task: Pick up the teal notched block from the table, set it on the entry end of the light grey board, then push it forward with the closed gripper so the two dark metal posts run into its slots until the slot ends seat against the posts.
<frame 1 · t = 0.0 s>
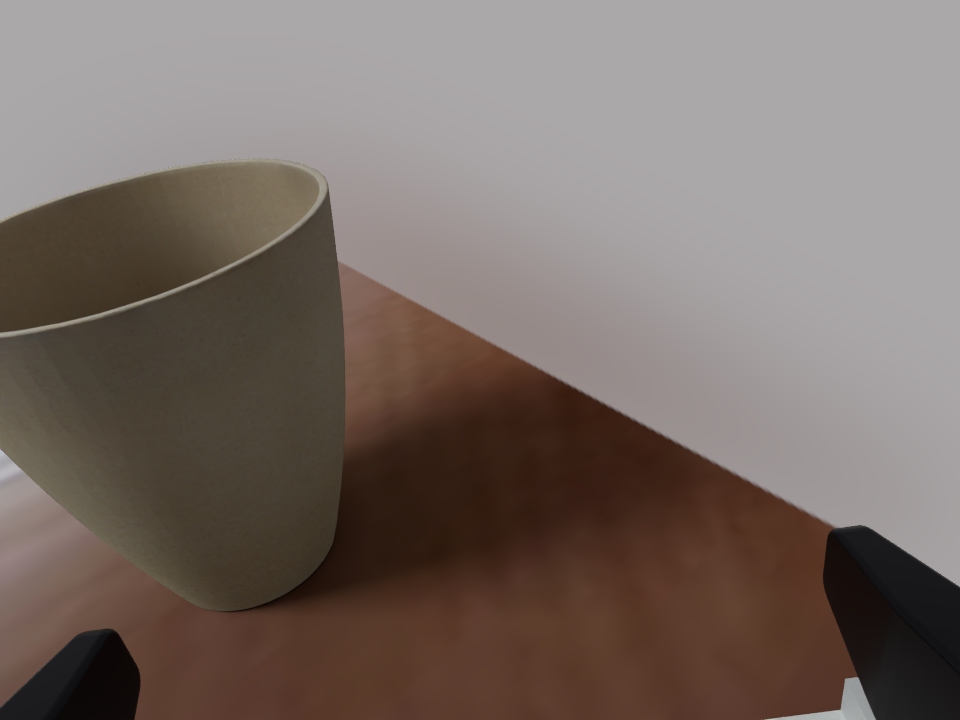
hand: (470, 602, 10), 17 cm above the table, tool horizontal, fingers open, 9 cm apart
plant pot: (254, 554, 36), on the table
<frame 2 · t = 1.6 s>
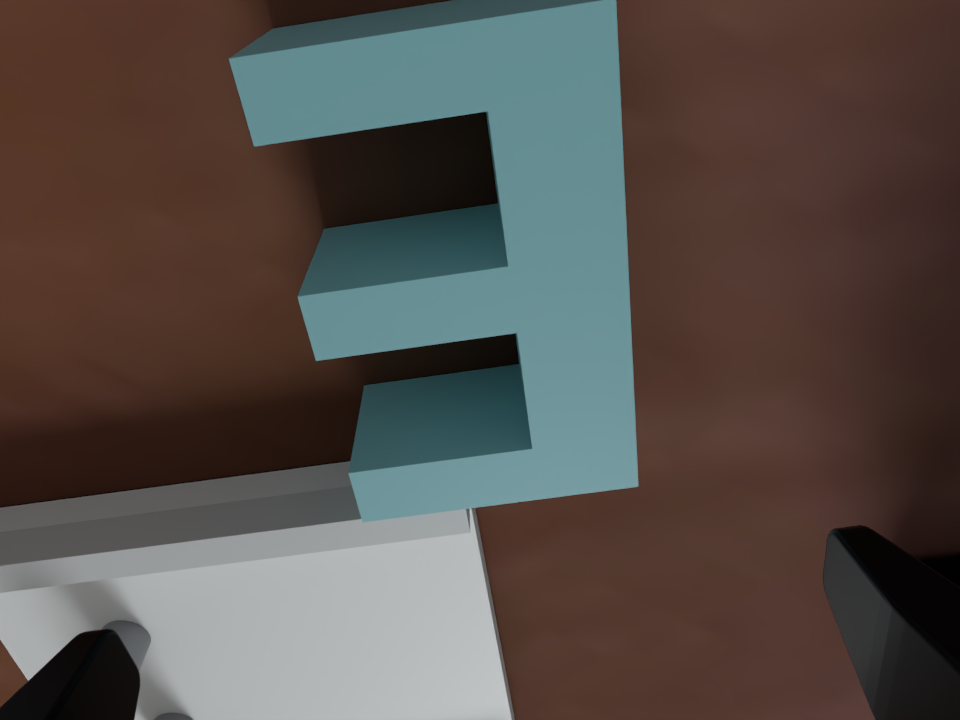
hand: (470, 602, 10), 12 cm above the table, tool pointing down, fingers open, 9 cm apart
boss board: (272, 641, 27), on the table
teal notched block: (463, 238, 20), on the table
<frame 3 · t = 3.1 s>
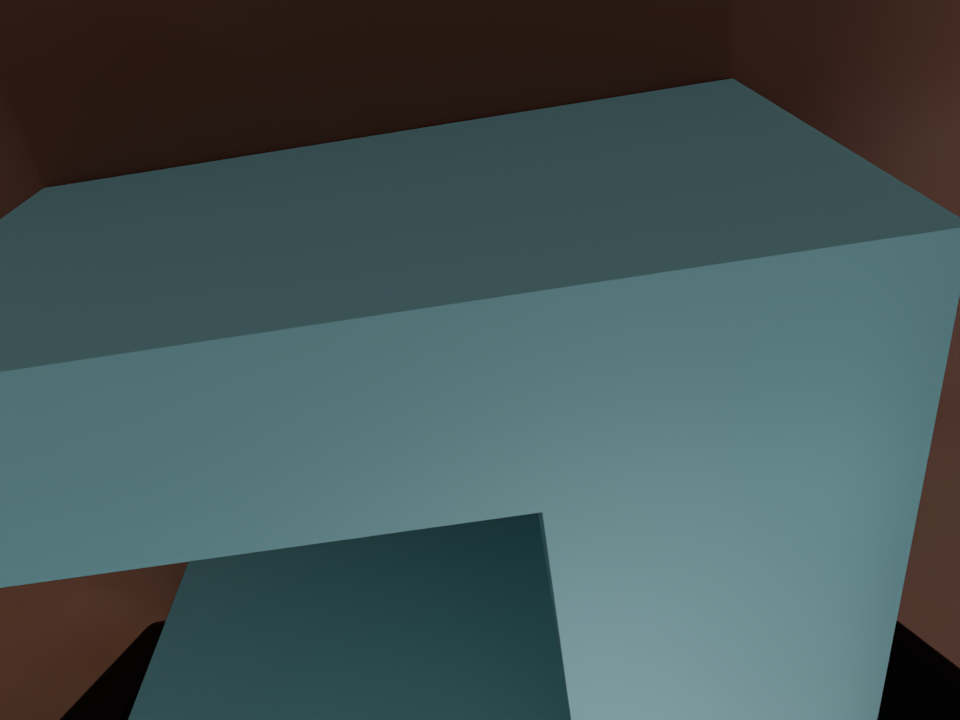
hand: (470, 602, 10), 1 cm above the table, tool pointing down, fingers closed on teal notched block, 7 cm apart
teal notched block: (467, 541, 11), on the table, touching gripper
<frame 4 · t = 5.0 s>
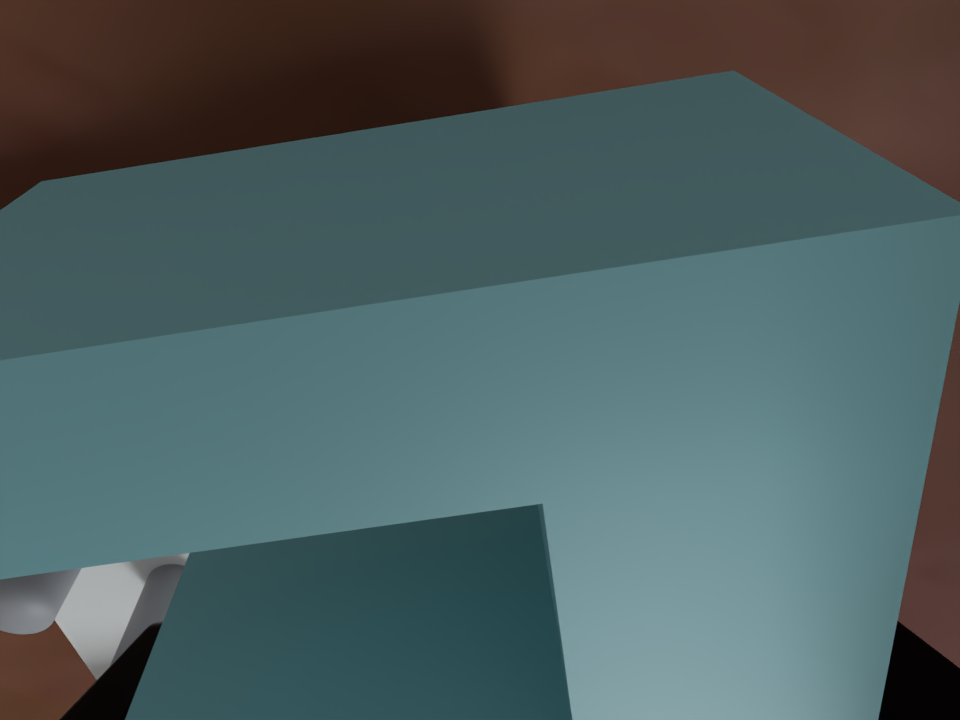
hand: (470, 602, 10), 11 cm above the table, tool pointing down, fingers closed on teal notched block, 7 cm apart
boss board: (289, 470, 22), on the table
teal notched block: (467, 537, 11), point 10 cm above the table, touching gripper
when the fingers open (3 cm above the table, at t = 7.3 s): teal notched block stays where it is, resting on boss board.
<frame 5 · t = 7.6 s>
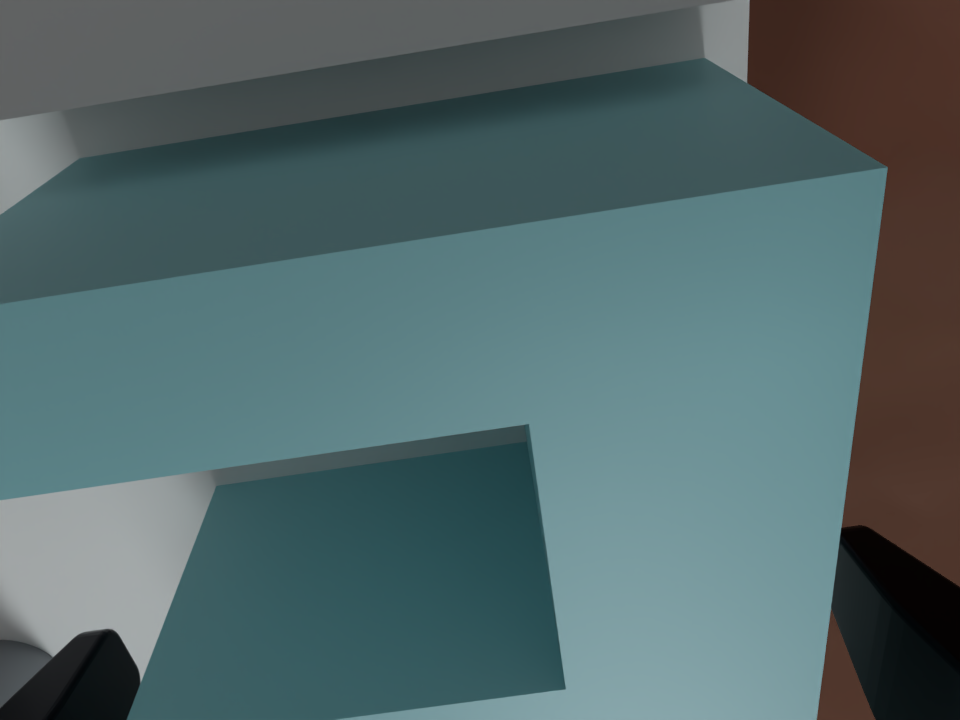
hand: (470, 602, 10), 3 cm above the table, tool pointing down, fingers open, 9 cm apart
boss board: (219, 482, 13), on the table
teal notched block: (465, 494, 11), point 1 cm above the table, touching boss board
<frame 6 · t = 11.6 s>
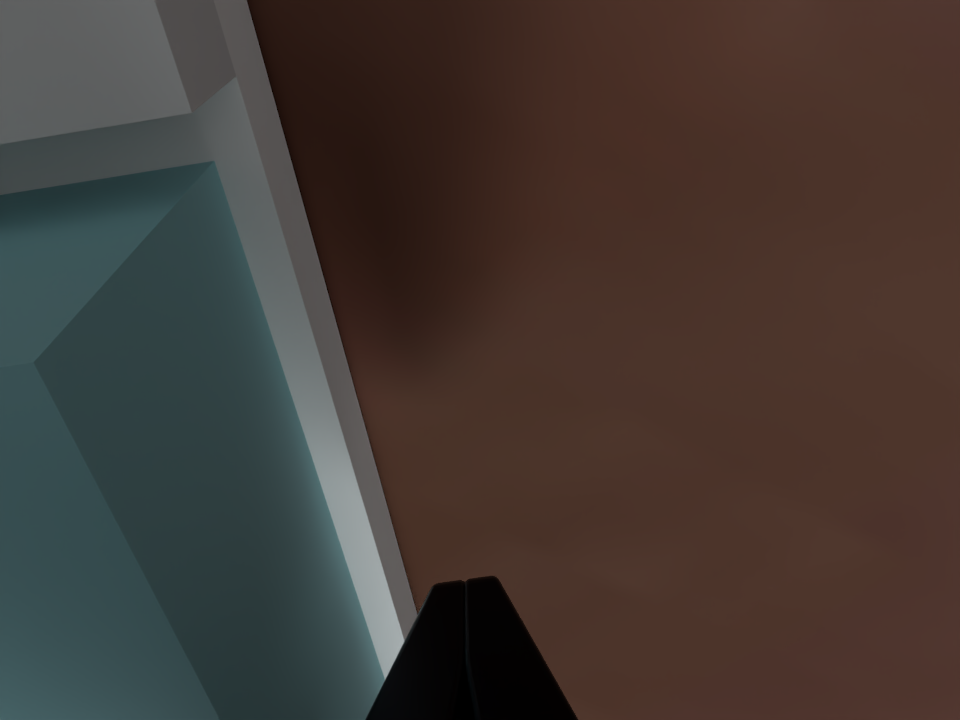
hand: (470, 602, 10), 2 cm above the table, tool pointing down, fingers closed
teal notched block: (100, 588, 11), point 1 cm above the table, touching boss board, gripper
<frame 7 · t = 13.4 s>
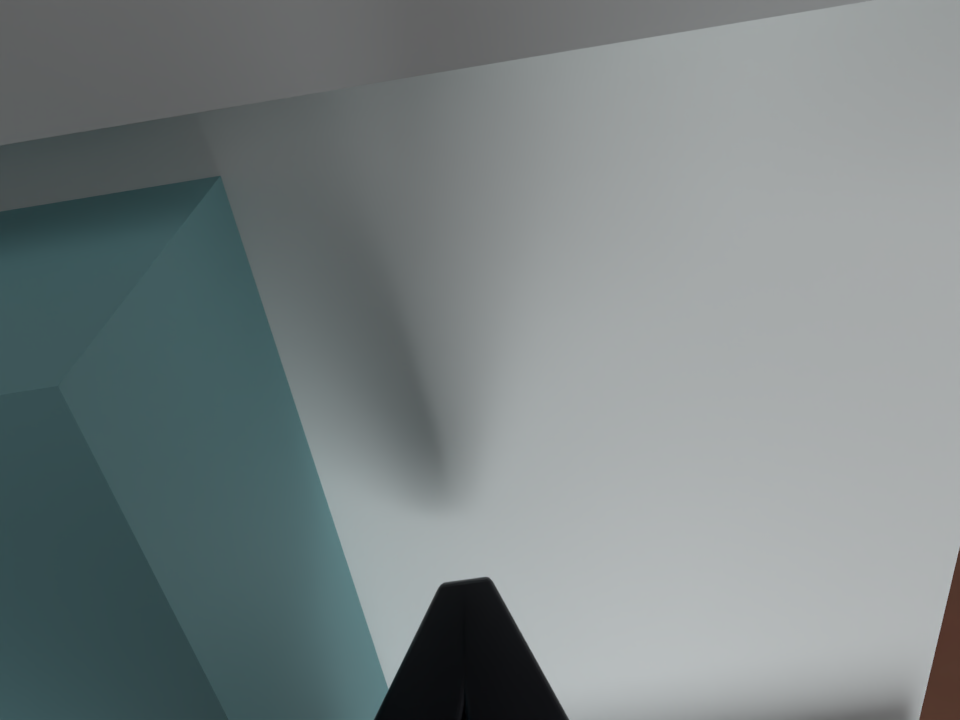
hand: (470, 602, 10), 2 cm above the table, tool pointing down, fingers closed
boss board: (399, 495, 12), on the table
teal notched block: (103, 601, 11), point 1 cm above the table, touching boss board, gripper
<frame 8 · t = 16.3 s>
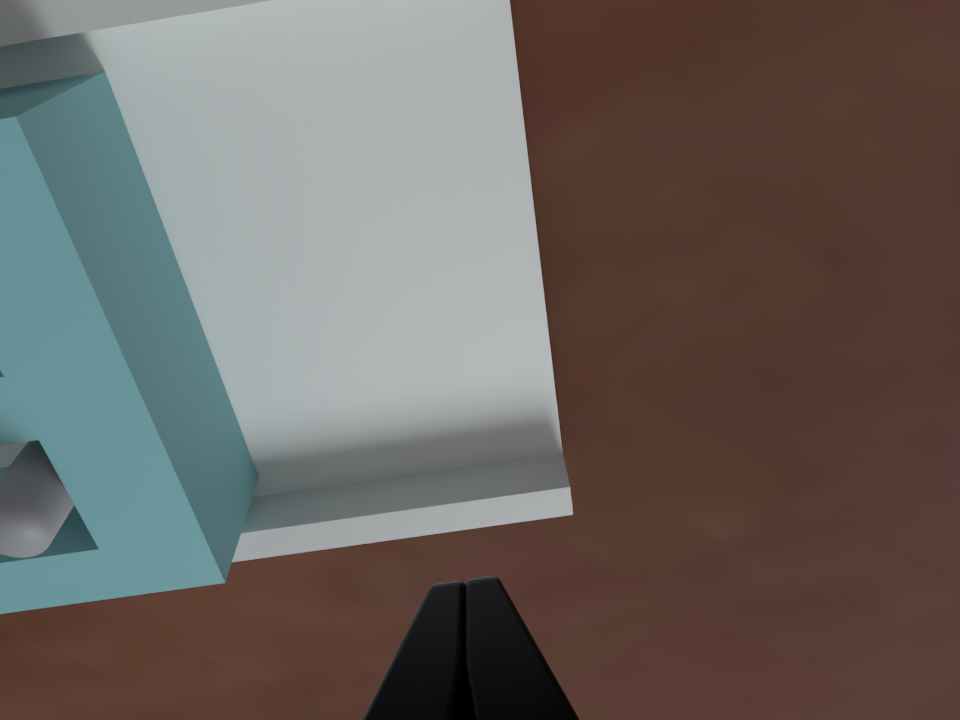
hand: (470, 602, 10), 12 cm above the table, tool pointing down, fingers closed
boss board: (230, 276, 20), on the table
teal notched block: (57, 325, 19), point 1 cm above the table, touching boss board
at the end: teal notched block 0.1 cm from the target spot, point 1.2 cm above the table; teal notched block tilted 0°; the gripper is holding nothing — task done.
